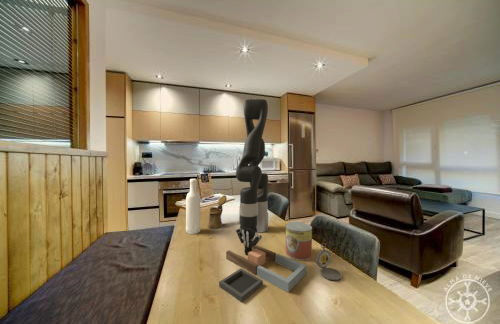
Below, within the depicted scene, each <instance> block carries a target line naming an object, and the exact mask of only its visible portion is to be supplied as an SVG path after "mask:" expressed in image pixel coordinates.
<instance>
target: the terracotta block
mask: <svg viewBox="0 0 500 324" xmlns="http://www.w3.org/2000/svg"><path fill="white" fill-rule="evenodd" d="M247 259H248V260H250V261H252V262H254V263H256V264H258V265H260V266H262V265H264V264H266V260H267V258H266V253H265V252H263V251H261V250H258V249H254V250H252V251H251V252H249V253H248V256H247Z"/></svg>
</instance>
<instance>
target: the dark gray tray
mask: <svg viewBox="0 0 500 324" xmlns="http://www.w3.org/2000/svg"><path fill="white" fill-rule="evenodd" d="M263 280H264V279H262V278H260V277H259V276H257V275H255V274H253V273H251V272H249V271H248V270H246V269H244V268H238V269H237V270H236V271H234V272H232V273H231V274H230V275H228V276H226V277H224V278H223V279H221V280H219V282H218V284H219V285H218V286H219V288H221V289H222V290H224V291H225V292H227V294H230V295H231V296H232V297H233V298H235V299H236V300H237V301H239V302H240V303H242V302H243V301H245V300H246V299H248V297H250V296H251V295H252V294H253V293H255V292H256V291H257V290H258V289H259V288H260V287H262V286H263V285H264V284H263V283H264V282H263Z"/></svg>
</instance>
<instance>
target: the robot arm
mask: <svg viewBox="0 0 500 324" xmlns="http://www.w3.org/2000/svg"><path fill="white" fill-rule="evenodd" d="M268 105H269V104H268V101H267V100H266V99H261V98H258V99H257V98H251V99H250V98H249V99H246V100H244V103H243V117H244V122H245V123H244V124H245V131H246V138H245V141H244V145H243V151H242V153H243V154H242V157H241V159H240V162H239V163H238V164H237V168H236V171H235V177H236V179H237V181H238V182H241V183H249V187H248V186H247V187H242V188H241V189H240V192H239V193H240V194H239V197H240V198H239V215H238V216H239V220H238V221H239V222H238V223H239V228H238V229H237V228H236V230H235V232H236V234H237V237H238V239H239V241H240V243H241V244H243V246H244V254H245V256H247V257H248V253H249V252H251V251H252V247H253V246H255V245H257V244H258V243H259V242H260V241H261V239H262V237H263V236H262V235H261V234H260V235H259V233H265V232H267V231H268V230H269V212H268V207H269V206H268V201H269V199H268V188H269V187H268V186H269V175H268V173H266V172H264V173H263V171H262V169H261V167H260V166H259V165H260V164H261V163H262V161H263V160H264V158H265V156H266V143H265V140H264V139H263V134H264V131H265V127H266V126H265V125H266V122H267V118H268V110H269V108H268V107H269V106H268ZM253 120H257V123H256V125H255V124H254V121H253ZM258 190H261V191H260V192H258Z"/></svg>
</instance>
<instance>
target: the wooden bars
mask: <svg viewBox="0 0 500 324" xmlns="http://www.w3.org/2000/svg"><path fill="white" fill-rule="evenodd" d="M254 249H258V250H261V251H263V252H265V253H266V260H269V261H271V262H273V263H276V262H275V255H276V254H277V252H274V251H272V250H269V249H267V248H265V247H262V246H260V245H257V244H256V245H255V246H253V247H252V250H254ZM225 253H226V254H225V259H226V260H227V261H230V262H231V263H234V265H236V266H238V267H241V269H243V270H245V271H247V272H249V273H250V274H252V275H254V276H257V267H258V266H259V265H258V264H256V263H254V262H252V261H250V260H248V258H245V257H243V256H241V255H240V254H237V253H235V252H233V251H231V250H230V249H229V250H227V251H225Z"/></svg>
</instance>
